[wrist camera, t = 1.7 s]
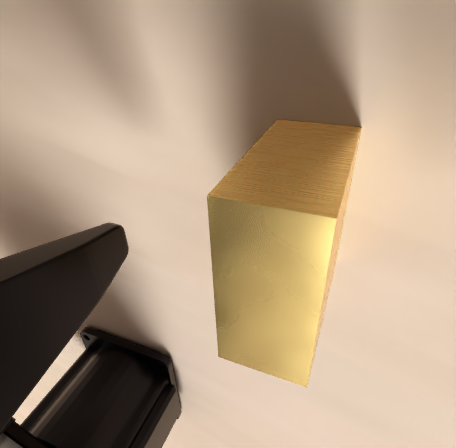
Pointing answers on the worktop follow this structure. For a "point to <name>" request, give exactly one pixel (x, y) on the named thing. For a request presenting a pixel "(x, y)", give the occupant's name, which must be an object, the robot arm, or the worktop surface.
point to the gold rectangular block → (279, 244)
